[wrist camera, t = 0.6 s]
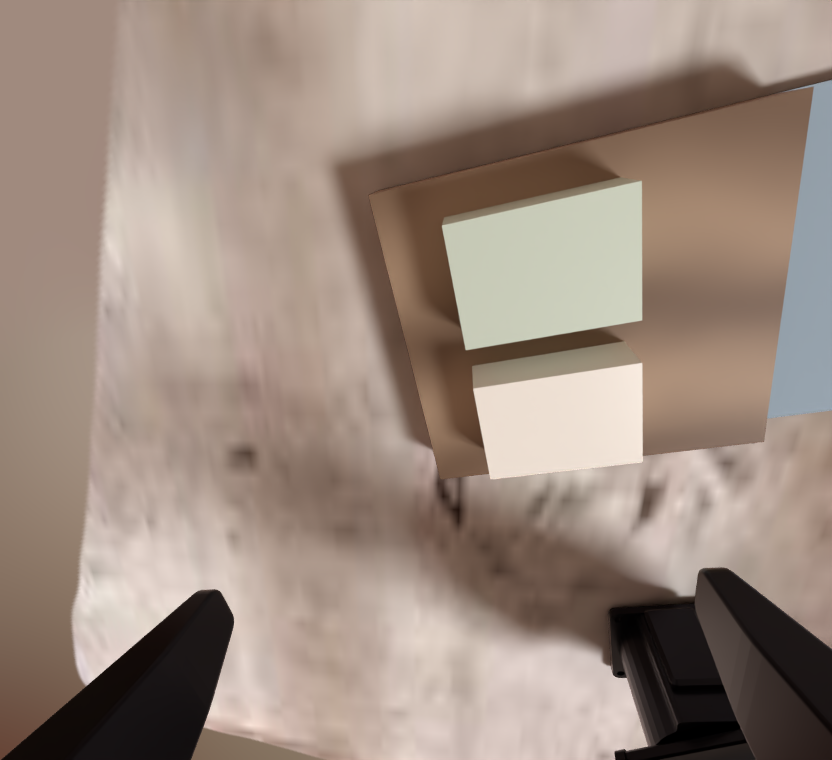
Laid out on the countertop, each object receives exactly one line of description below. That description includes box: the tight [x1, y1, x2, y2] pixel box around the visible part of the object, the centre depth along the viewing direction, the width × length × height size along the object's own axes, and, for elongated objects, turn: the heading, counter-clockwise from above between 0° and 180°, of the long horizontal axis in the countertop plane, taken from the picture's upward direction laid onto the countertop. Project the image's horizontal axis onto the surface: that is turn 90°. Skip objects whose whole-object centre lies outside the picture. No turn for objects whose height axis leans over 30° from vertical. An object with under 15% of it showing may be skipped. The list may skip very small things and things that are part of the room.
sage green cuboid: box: [442, 177, 642, 350], centre depth 15 cm, size 4×6×2 cm
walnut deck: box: [368, 87, 814, 479], centre depth 18 cm, size 13×14×2 cm
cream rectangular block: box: [472, 341, 643, 480], centre depth 18 cm, size 4×6×2 cm
